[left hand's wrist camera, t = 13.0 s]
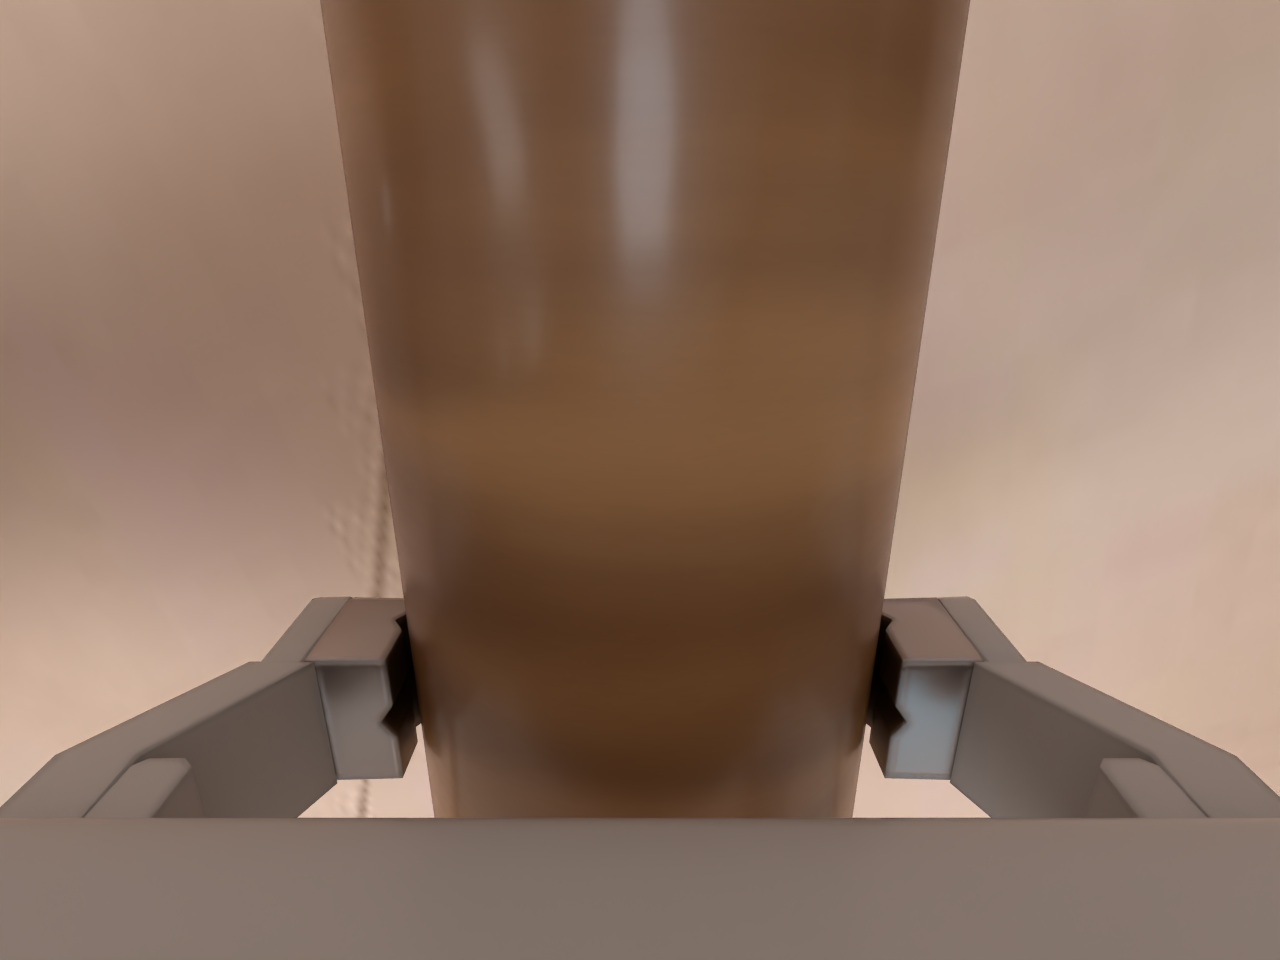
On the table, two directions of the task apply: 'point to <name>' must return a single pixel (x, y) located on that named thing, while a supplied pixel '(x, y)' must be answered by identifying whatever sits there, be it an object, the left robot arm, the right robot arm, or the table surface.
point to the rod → (644, 379)
